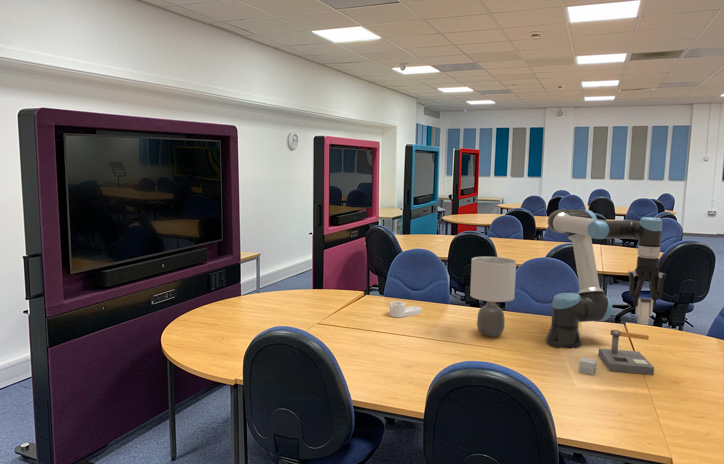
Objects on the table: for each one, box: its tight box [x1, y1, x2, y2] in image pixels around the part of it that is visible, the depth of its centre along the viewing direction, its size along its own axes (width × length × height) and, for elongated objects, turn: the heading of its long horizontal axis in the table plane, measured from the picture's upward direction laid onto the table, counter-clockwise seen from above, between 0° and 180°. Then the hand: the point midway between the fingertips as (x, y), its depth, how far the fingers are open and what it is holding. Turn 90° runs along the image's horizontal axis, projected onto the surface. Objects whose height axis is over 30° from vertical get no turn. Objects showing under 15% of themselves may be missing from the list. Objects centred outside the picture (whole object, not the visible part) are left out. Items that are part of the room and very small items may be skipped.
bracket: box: [389, 300, 423, 318], centre depth 275 cm, size 20×9×7 cm, turn 123°
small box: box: [578, 356, 598, 376], centre depth 197 cm, size 6×6×5 cm
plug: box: [636, 297, 650, 326], centre depth 198 cm, size 4×4×10 cm
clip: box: [610, 329, 650, 341], centre depth 209 cm, size 4×14×2 cm, turn 64°
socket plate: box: [597, 335, 655, 376], centre depth 205 cm, size 16×18×10 cm
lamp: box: [469, 256, 517, 337], centre depth 240 cm, size 21×21×37 cm
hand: (643, 314), depth 198 cm, fingers closed on plug, 4 cm apart
